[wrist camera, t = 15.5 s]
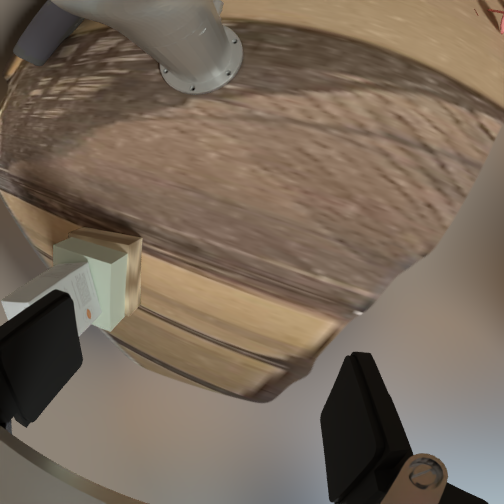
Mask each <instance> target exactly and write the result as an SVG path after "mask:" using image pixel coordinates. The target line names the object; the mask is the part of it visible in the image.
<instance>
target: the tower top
mask: <svg viewBox="0 0 504 504" xmlns="http://www.w3.org/2000/svg"><path fill="white" fill-rule="evenodd" d="M127 258H128V253H125V252H121V251H118V250H114V249H111V248H107V247H104V246H101V245H97V244H94V243H91V242H87V241H84V240H81V239H77V238H74V237H71V238H68V239H66V240H64V241H61V242H59V243H57V244H54V245H53V266H55V265H57V264H64V263H79V262H88V264H89V268H90V272H91V276H92V279H93V283H94V287H95V290H96V294H97V297H98V301H99V304H100V307H101V310H102V313H101V315H100V316H99V317H98V318H97V319H96V320H95V321H94V322H93V323H92V325H95V326H97V327H100V328H102V329H105V330H107V331H110V332H111V330H112V329H113V328H114V327H115V326H116V325H117V324H118V323H119V322H120V321H121V320H122V319H123V318H124V316H125V288H126V271H127Z"/></svg>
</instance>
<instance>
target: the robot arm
mask: <svg viewBox="0 0 504 504" xmlns="http://www.w3.org/2000/svg"><path fill="white" fill-rule="evenodd" d="M51 1H52V2H53V3H54V4H55V5H57V6H58V7H59V8H61V9H63V10H65V11H67V12H69V13H71V14H73V15H76V16H79V17H82V18H85V19H89V20H93V21H96V22H100V23H102V24H105V25H107V26H110V27H112V28H113V29H115V30H117V31H118V32H120V33H121V34H123V35H124V36H126V37H127V38H128V39H130V40H131V41H132V42H133V43H135V44H136V45H137V46H138V47H140V48H141V49H142V50H144V51H145V52H146V53H147V54H149V55H150V56H151V57H152V58H154V59H155V60H156V61H157V62H158V63H160V71H161V74H162V76H163V78H164V80H165V81H166V82H167V83H168V84H169V85H170V86H171V87H172V88H174V89H176V90H178V91H180V92H182V93H186V94H193V95H197V94H205V93H209V92H212V91H215V90H217V89H219V88H221V87H223V86H224V85H226V84H227V83H228V82H229V81H230V80H232V79H233V77H234V76H235V75H236V74H237V72H238V70H239V68H240V67H241V63H242V60H243V48H242V44H241V41H240V39H239V38H238V36H237V35H236V34H235V32H234V31H233V30H231V29H230V28H228V27H227V26H224V25H222V22H221V17H219V16H220V13H221V12H222V8H223V4H224V3H223V2H222V1H220V0H51ZM235 42H236V44H234V43H235ZM167 72H168V73H167ZM228 74H231V75H229V76H227V75H228ZM193 88H195V90H194V91H193ZM82 361H83V357H82V352H81V347H80V342H79V336H78V330H77V323H76V316H75V309H74V302H73V299H71V296H70V294H69V293H67V292H63V291H61V290H58V289H55V290H53V291H51V292H49V293H48V294H46V295H45V296H43V297H42V298H40V299H39V300H37V301H36V302H34V303H33V304H31V305H30V306H29V307H27V308H26V309H24V310H23V311H21V312H20V313H18V314H17V315H16V316H14V317H13V318H11V319H10V320H9V321H7V322H6V323H4V324H3V325H2V326H0V504H148V503H145V502H141V501H139V500H136V499H133V498H131V497H128V496H125V495H123V494H120V493H117V492H115V491H113V490H110V489H108V488H105V487H103V486H101V485H99V484H96V483H94V482H92V481H90V480H88V479H85V478H84V477H82V476H80V475H77V474H76V473H73V472H71V471H70V470H68V469H66V468H64V467H62V466H61V465H59V464H57V463H55V462H54V461H52V460H50V459H48V458H47V457H45V456H43V455H42V454H40V453H39V452H37V451H35V450H34V449H32V448H31V447H29V446H28V445H26V444H25V443H23V442H22V441H20V440H19V439H17V438H16V437H15V436H13V435H12V426H11V419H12V418H13V416H14V418H15V420H16V421H17V422H19V423H20V424H22V425H23V426H25V427H26V428H27V426H28V425H29V424H30V423H31V422H34V421H35V420H36V419H37V418H38V417H39V415H40V414H41V413H42V412H43V410H44V409H45V408H46V407H47V405H48V404H49V403H50V402H51V401H52V400H53V398H54V397H55V396H56V395H57V394H58V392H59V391H60V390H61V389H62V388H63V386H64V385H65V384H66V383H67V382H68V381H69V379H70V378H71V377H72V376H73V375H74V373H75V372H76V371H77V370H78V369H79V368H80V366H81V365H82ZM320 418H321V419H320V422H321V430H322V438H323V446H324V455H325V464H326V472H327V483H328V492H329V500H330V502H334V503H335V504H488V503H487V502H486V501H485V500H483V499H481V498H478V497H476V496H474V495H472V494H470V493H468V492H465V491H463V490H461V489H459V488H457V487H455V486H453V485H451V484H449V483H447V479H448V473H447V469H446V467H445V465H444V464H443V463H442V461H441V460H440V459H438V458H436V457H435V456H433V455H430V454H423V453H421V454H416V455H413V452H412V449H411V447H410V444H409V441H408V439H407V436H406V433H405V431H404V428H403V426H402V423H401V421H400V418H399V416H398V413H397V411H396V408H395V406H394V403H393V401H392V398H391V397H390V395H389V394H388V391H387V389H386V387H385V384H384V382H383V379H382V377H381V375H380V373H379V370H378V368H377V366H376V363H375V361H374V359H373V357H372V355H371V353H364V352H353V353H352V354H351V356H346V357H345V359H344V362H343V364H342V367H341V369H340V372H339V374H338V377H337V379H336V381H335V383H334V386H333V388H332V390H331V393H330V395H329V397H328V399H327V401H326V404H325V406H324V408H323V410H322V413H321V417H320Z"/></svg>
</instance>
